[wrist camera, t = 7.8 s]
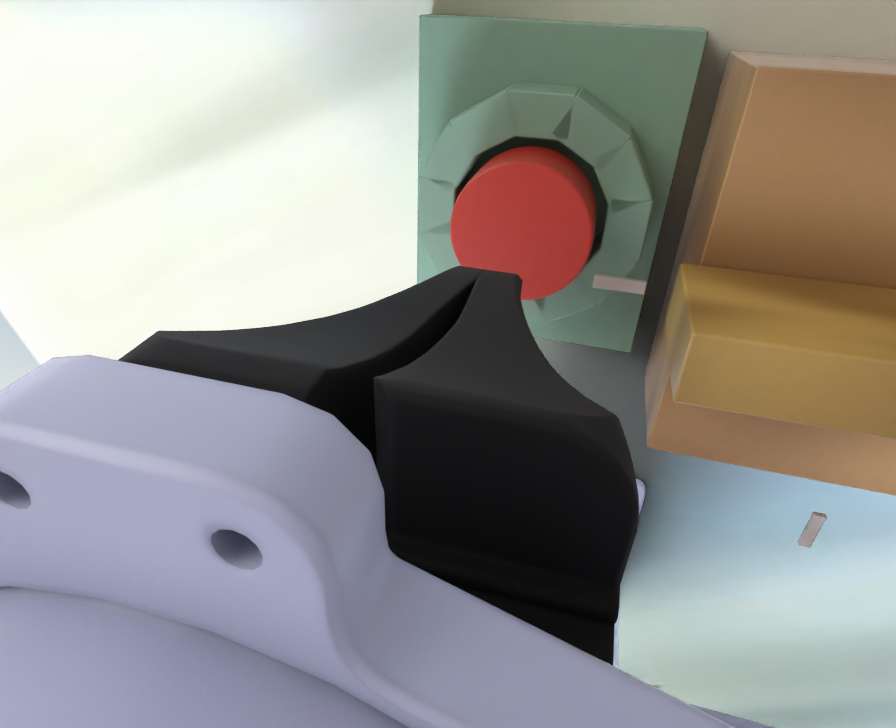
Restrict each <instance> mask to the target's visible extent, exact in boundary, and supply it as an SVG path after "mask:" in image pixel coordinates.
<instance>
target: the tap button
mask: <svg viewBox="0 0 896 728" xmlns="http://www.w3.org/2000/svg"><path fill="white" fill-rule="evenodd" d="M596 219H597V204H596V198H595V194H594V191H593V188H592V186H591V184H590V182H589V180H588V178H587V177H586V175H585V174H584V172H583V171H582V170H581V169H580V168H579V166H578V165H576V164H575V163H574V162H573V161H572V160H571V159H569V158H568V157H566V156H565V155H563V154H561V153H559V152H557V151H554V150H551V149H548V148H544V147H538V146H524V147H517V148H513V149H509V150H507V151H504V152H502V153H500V154H498V155H496V156H495V157H493V158H492V159H490V160H489V161H488V162H487V163H486V164H485V165H484V166H483V167H482V168H481V169H480V170H479V171H478V172H477V173H476V174H475V175H474V176H473V178H472V179H471V180H470V181H469V182H468V183H467V184H466V186H465V187H464V188H463V190H462V191H461V192H460V194H459V196H458V198H457V200H456V202H455V205H454V207H453V211H452V215H451V222H450V236H451V242H452V246H453V250H454V253H455V255H456V257H457V260H458V262H459V263H460V265H461V266H465V267H472V268H479V269H486V270H493V271H500V272H507V273H514V274H518V275H519V276H520V278H521V279H522V280H523V282H522V290H521V300H534V299H540V298H543V297H547V296H549V295H552V294H554V293H556V292H558V291H560V290H561V289H563V288H565V287H566V286H567V285H568V284H570V283H571V282H572V281H573V280H574V279H575V278H576V277H577V276H578V275H579V273H580V272H581V271H582V269H583V268H584V266H585V264H586V262H587V260H588V258H589V255H590V253H591V249H592V245H593V239H594V233H595V227H596Z"/></svg>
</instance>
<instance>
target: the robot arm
mask: <svg viewBox="0 0 896 728" xmlns="http://www.w3.org/2000/svg"><path fill="white" fill-rule="evenodd" d="M522 282H523V280H522V279H521V278H520V276H519V275H518V274H514V273H507V272H500V271H493V270H486V269H479V268H472V267H465V266H456V267H453V268H451V269H448V270H446V271H444V272H442V273H440V274H437V275H435V276H433V277H431V278H429V279H427V280H425V281H423V282H421V283H419V284H416V285H414V286H412V287H410V288H408V289H406V290H403V291H401V292H399V293H396V294H394V295H391V296H389V297H386V298H384V299H381V300H379V301H376V302H374V303H371V304H369V305H366V306H363V307H360V308H357V309H353V310H350V311H346V312H343V313H339V314H336V315H332V316H328V317H323V318H318V319H313V320H307V321H302V322H297V323H292V324H286V325H279V326H271V327H262V328H252V329H239V330H223V331H158V332H156V333H155V334H153V335H152V336H151V337H149V338H148V339H147V340H145V341H144V342H142V343H141V344H140V345H138V346H137V347H136V348H134V349H133V350H131V351H130V352H129V353H127V354H126V355H125V356H123V357H122V358H121V359H119V360H118V361H117V360H112V359H107V358H102V357H97V356H92V355H82V356H69V357H55V358H52V359H50V360H49V361H47V362H46V363H44V364H42V365H41V366H39V367H38V368H36V369H34V370H33V371H31V372H30V373H28V374H26V375H25V376H23V377H22V378H20V379H18V380H17V381H15V382H14V383H12V384H10V385H9V386H7V387H6V388H4V389H2V390H1V391H0V728H775V727H771V726H768V725H764V724H760V723H757V722H753V721H750V720H746V719H742V718H739V717H735V716H731V715H728V714H724V713H720V712H717V711H713V710H709V709H706V708H702V707H698V706H695V705H691V704H688V703H686V702H684V701H682V700H680V699H678V698H676V697H674V696H672V695H670V694H668V693H666V692H664V691H662V690H660V689H658V688H656V687H654V686H652V685H650V684H648V683H646V682H644V681H642V680H640V679H638V678H636V677H634V676H632V675H630V674H628V673H626V672H624V671H622V670H620V669H618V644H619V600H620V583H621V580H622V576H623V573H624V570H625V567H626V564H627V560H628V557H629V554H630V551H631V548H632V544H633V541H634V538H635V535H636V532H637V526H638V519H639V514H640V510H641V507H642V504H643V501H644V497H645V485H644V483H643V482H642V481H641V480H639V479H636V477H635V472H634V467H633V463H632V459H631V455H630V451H629V448H628V444H627V441H626V438H625V435H624V432H623V429H622V426H621V423H620V420H619V419H618V417H617V416H616V415H615V414H613V413H612V412H610V411H608V410H607V409H605V408H603V407H602V406H600V405H598V404H597V403H595V402H593V401H592V400H590V399H588V398H587V397H585V396H584V395H582V394H581V393H580V392H579V391H577V390H576V389H575V388H574V387H572V386H571V385H570V384H569V383H567V382H566V381H565V380H564V379H563V378H562V377H561V376H560V375H559V374H558V373H557V372H556V371H555V369H554V368H553V367H552V366H551V365H550V364H549V362H548V361H547V360H546V358H545V357H544V355H543V354H542V352H541V350H540V349H539V347H538V345H537V343H536V342H535V340H534V338H533V335H532V333H531V331H530V328H529V326H528V324H527V321H526V318H525V315H524V311H523V307H522V303H521V290H522Z"/></svg>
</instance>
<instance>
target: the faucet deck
mask: <svg viewBox="0 0 896 728" xmlns="http://www.w3.org/2000/svg"><path fill="white" fill-rule="evenodd" d="M683 263H684V264H692V265H700V266H708V267H717V268H725V269H733V270H741V271H749V272H757V273H766V274H774V275H782V276H790V277H798V278H807V279H815V280H823V281H831V282H839V283H847V284H856V285H864V286H872V287H880V288H888V289H896V61H893V60H876V59H860V58H843V57H826V56H810V55H793V54H777V53H760V52H743V51H730V53H729V56H728V59H727V63H726V67H725V71H724V75H723V78H722V82H721V86H720V90H719V94H718V97H717V101H716V105H715V109H714V113H713V116H712V120H711V124H710V128H709V132H708V135H707V139H706V143H705V147H704V151H703V154H702V158H701V162H700V166H699V170H698V173H697V177H696V181H695V185H694V189H693V192H692V196H691V200H690V204H689V208H688V211H687V215H686V219H685V223H684V227H683V230H682V234H681V238H680V242H679V246H678V249H677V253H676V257H675V261H674V265H673V268H672V272H671V276H670V280H669V284H668V287H667V291H666V295H665V299H664V303H663V306H662V310H661V314H660V318H659V322H658V325H657V329H656V333H655V337H654V341H653V344H652V348H651V352H650V356H649V360H648V363H647V367H646V371H645V399H646V432H647V447H648V448H651V449H656V450H662V451H667V452H672V453H677V454H682V455H688V456H693V457H698V458H703V459H708V460H714V461H719V462H724V463H729V464H734V465H739V466H745V467H750V468H755V469H760V470H765V471H771V472H776V473H781V474H786V475H791V476H797V477H802V478H807V479H812V480H817V481H823V482H828V483H833V484H838V485H843V486H849V487H854V488H859V489H864V490H869V491H875V492H880V493H885V494H890V495H895V496H896V440H895V439H889V438H883V437H877V436H871V435H865V434H860V433H854V432H848V431H842V430H836V429H830V428H824V427H818V426H812V425H806V424H800V423H794V422H788V421H783V420H777V419H771V418H765V417H759V416H753V415H747V414H741V413H735V412H729V411H723V410H717V409H711V408H706V407H700V406H694V405H688V404H682V403H676V402H674V401H673V397H672V387H671V377H670V367H669V356H668V346H667V336H666V326H665V319H666V315H667V311H668V307H669V304H670V300H671V296H672V292H673V288H674V284H675V280H676V277H677V273H678V269H679V266H680V264H683ZM646 285H647V281H644V280H637V279H629V278H622V277H615V276H607V275H600V274H595V275H594V281H593V288H600V289H607V290H614V291H621V292H628V293H635V294H642V295H644V293H645V289H646ZM826 518H827V517H826V514H822V513H817V512H813V513H812V515H811V517H810V519H809V521H808V523H807V524H806V526H805V528H804V530H803V532H802V534H801V536H800V538H799V540H798V541H797V542H798V545H800V546H805V547H809V548H810V547H811V545H812V543H813V542H814V540H815V538H816V536H817V534H818V532H819V531H820V529H821V527H822V525H823V523H824V522H825V520H826Z"/></svg>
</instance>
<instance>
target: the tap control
mask: <svg viewBox="0 0 896 728" xmlns="http://www.w3.org/2000/svg"><path fill="white" fill-rule="evenodd" d="M707 36H708V31H707V30H705V29H703V28H684V27H665V26H647V25H628V24H609V23H591V22H572V21H553V20H534V19H516V18H497V17H478V16H460V15H441V14H426V15H420V38H419V141H418V244H417V284H419V283H421V282H423V281H425V280H427V279H429V278H431V277H433V276H435V275H437V274H440V273H442V272H444V271H446V270H448V269H451V268H453V267H456V266H461V265H460V263H459V262H458V260H457V257H456V255H455V253H454V250H453V246H452V242H451V236H450V222H451V215H452V211H453V207H454V205H455V202H456V200H457V198H458V196H459V194H460V192H461V191H462V190H463V188H464V187H465V186H466V184H467V183H468V182H469V181H470V180H471V179H472V178H473V176H474V175H475V174H476V173H477V172H478V171H479V170H480V169H481V168H482V167H483V166H484V165H485V164H486V163H487V162H488V161H489V160H490V159H492V158H493V157H495V156H496V155H498V154H500V153H502V152H504V151H507V150H509V149H513V148H517V147H524V146H538V147H544V148H548V149H551V150H554V151H557V152H559V153H561V154H563V155H565V156H566V157H568V158H569V159H571V160H572V161H573V162H574V163H575V164H576V165H578V166H579V168H580V169H581V170H582V171H583V172H584V174H585V175H586V177H587V178H588V180H589V182H590V184H591V186H592V188H593V191H594V194H595V198H596V204H597V219H596V227H595V233H594V239H593V245H592V249H591V253H590V255H589V258H588V260H587V262H586V264H585V266H584V268H583V269H582V271H581V272H580V273H579V275H578V276H577V277H576V278H575V279H574V280H573V281H572V282H571V283H570V284H568V285H567V286H566V287H565V288H563V289H561V290H560V291H558V292H556V293H554V294H552V295H549V296H547V297H543V298H540V299H534V300H521V303H522V307H523V311H524V315H525V318H526V321H527V324H528V326H529V328H530V331H531V333H532V335H533V337H537V338H543V339H549V340H556V341H562V342H568V343H574V344H580V345H586V346H593V347H599V348H605V349H611V350H617V351H623V352H631V350H632V346H633V342H634V338H635V333H636V329H637V325H638V321H639V317H640V313H641V309H642V305H643V300H644V296H645V293H644V295H642V294H635V293H628V292H621V291H614V290H607V289H600V288H593V281H594V275H595V274H600V275H607V276H615V277H622V278H629V279H637V280H644V281H647V284H648V280H649V276H650V271H651V267H652V263H653V259H654V255H655V251H656V247H657V243H658V238H659V234H660V230H661V226H662V222H663V218H664V214H665V209H666V205H667V201H668V197H669V193H670V189H671V185H672V181H673V176H674V172H675V168H676V164H677V160H678V156H679V152H680V147H681V143H682V139H683V135H684V131H685V127H686V123H687V119H688V114H689V110H690V106H691V102H692V98H693V94H694V90H695V85H696V81H697V77H698V73H699V69H700V65H701V61H702V57H703V52H704V48H705V44H706V40H707ZM646 288H647V285H646ZM645 292H646V289H645Z"/></svg>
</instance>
